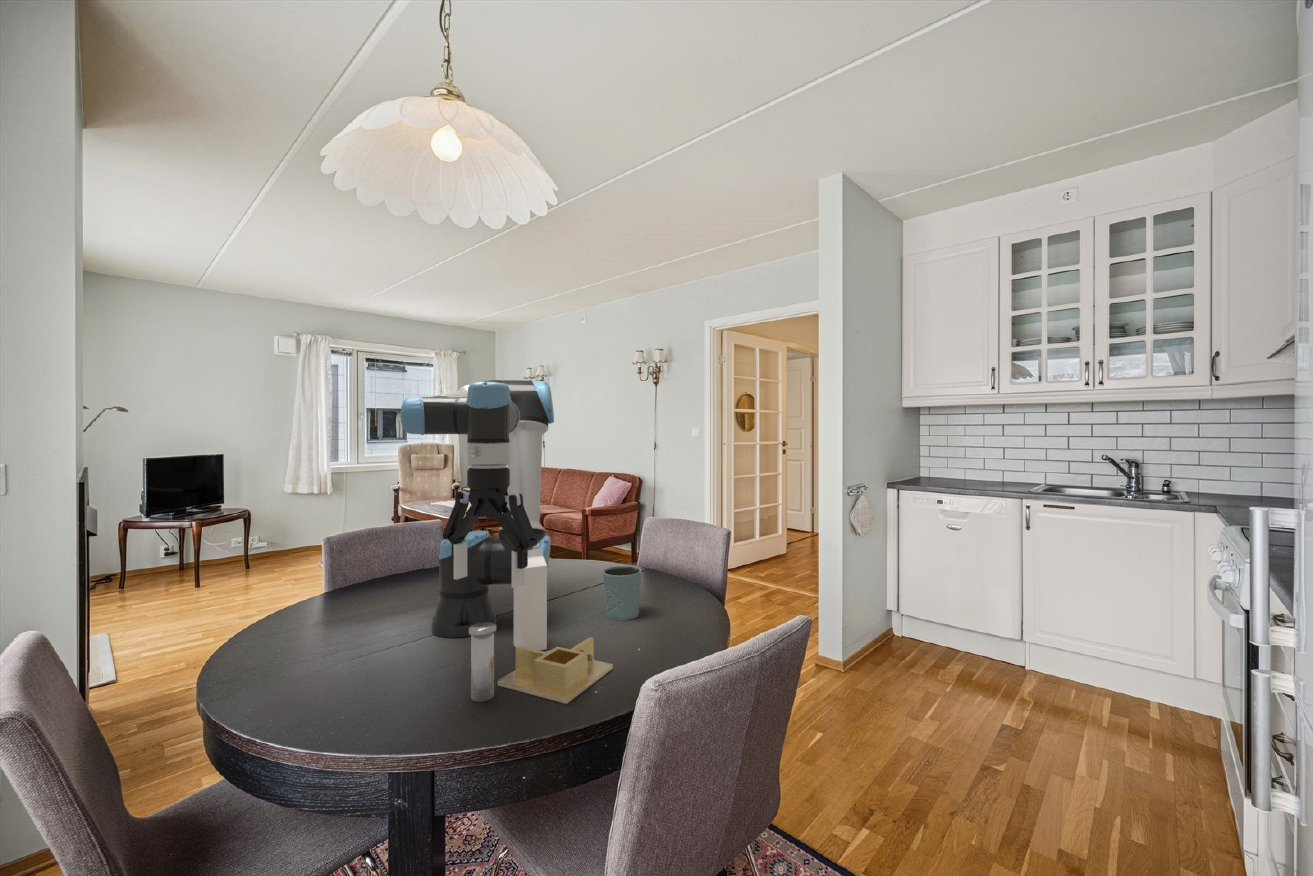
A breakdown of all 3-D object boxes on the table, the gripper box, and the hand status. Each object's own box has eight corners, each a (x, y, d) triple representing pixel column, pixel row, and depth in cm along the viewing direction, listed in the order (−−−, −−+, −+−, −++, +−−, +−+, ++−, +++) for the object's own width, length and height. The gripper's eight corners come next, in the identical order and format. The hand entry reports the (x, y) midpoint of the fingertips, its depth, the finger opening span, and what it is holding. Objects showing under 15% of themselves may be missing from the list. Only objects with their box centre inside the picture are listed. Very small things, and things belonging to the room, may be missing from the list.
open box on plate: (566, 704, 96) (566, 670, 96) (497, 685, 103) (497, 654, 103) (612, 669, 110) (612, 639, 110) (549, 654, 117) (549, 627, 117)
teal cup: (648, 613, 145) (648, 569, 145) (626, 624, 136) (626, 577, 136) (618, 606, 150) (618, 564, 150) (595, 617, 142) (595, 571, 142)
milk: (546, 649, 120) (547, 551, 120) (520, 655, 117) (520, 554, 117) (538, 640, 126) (539, 546, 125) (512, 645, 123) (513, 548, 122)
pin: (463, 699, 98) (463, 629, 97) (482, 688, 102) (482, 620, 102) (483, 705, 95) (483, 633, 95) (501, 693, 100) (501, 624, 100)
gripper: (422, 465, 101) (422, 579, 101) (531, 469, 90) (530, 595, 90) (453, 464, 108) (452, 570, 108) (557, 467, 97) (556, 584, 97)
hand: (488, 582), depth 99 cm, fingers open, 13 cm apart
